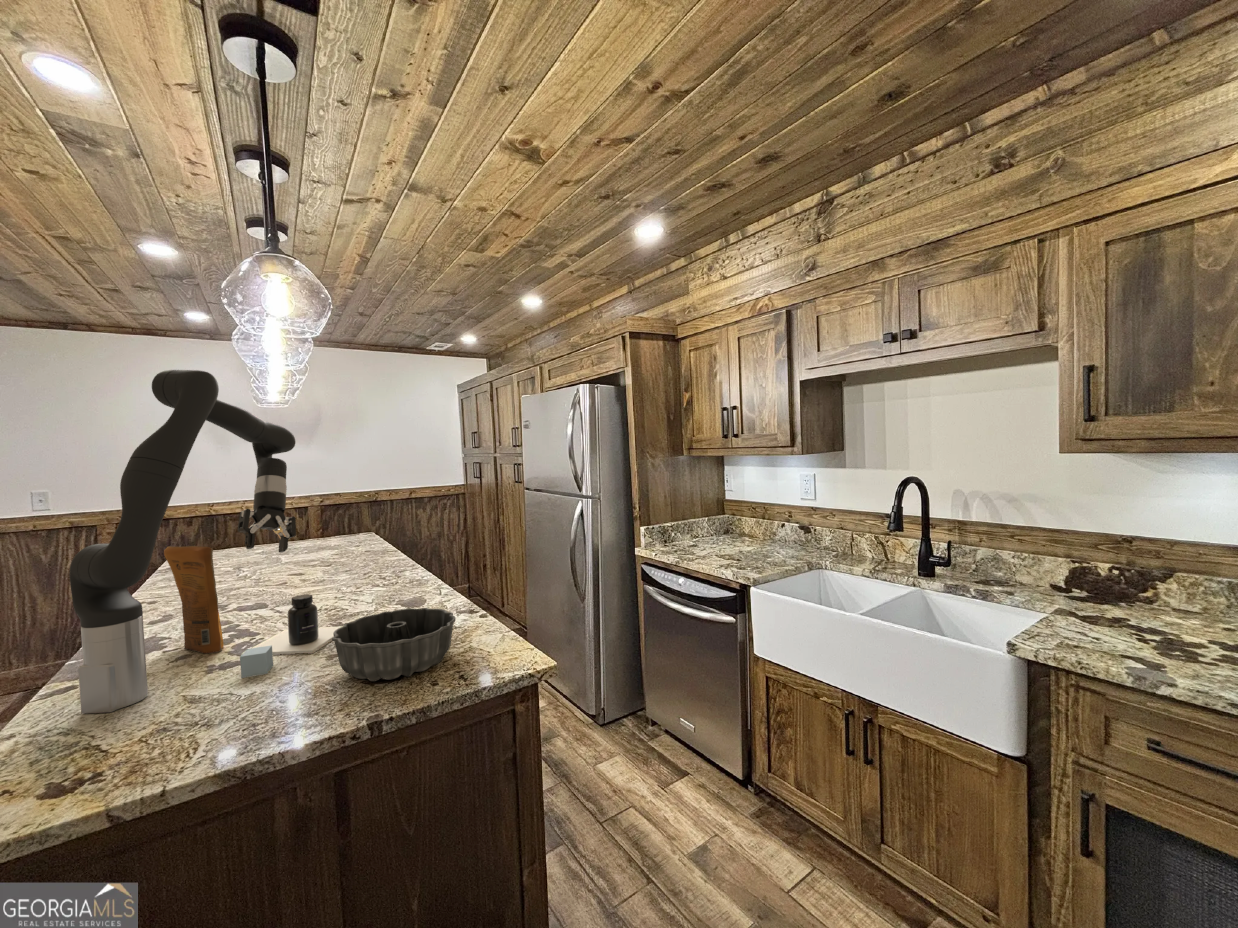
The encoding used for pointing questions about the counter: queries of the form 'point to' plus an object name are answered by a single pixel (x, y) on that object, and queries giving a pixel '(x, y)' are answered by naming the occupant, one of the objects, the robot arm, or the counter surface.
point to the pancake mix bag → (197, 596)
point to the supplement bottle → (302, 620)
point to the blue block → (256, 661)
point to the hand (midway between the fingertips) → (266, 550)
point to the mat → (284, 647)
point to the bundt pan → (394, 643)
